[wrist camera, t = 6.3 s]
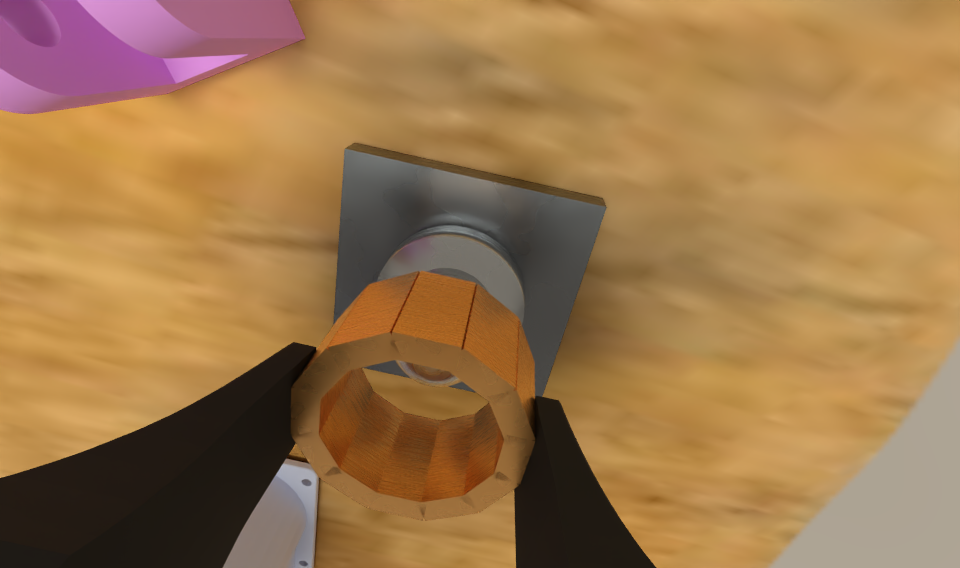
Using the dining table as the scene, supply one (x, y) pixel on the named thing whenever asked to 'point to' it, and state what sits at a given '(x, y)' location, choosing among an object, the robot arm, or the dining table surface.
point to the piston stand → (465, 243)
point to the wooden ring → (409, 438)
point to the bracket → (128, 47)
